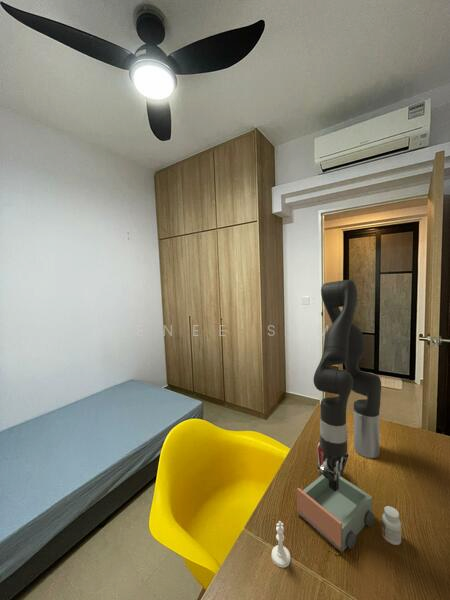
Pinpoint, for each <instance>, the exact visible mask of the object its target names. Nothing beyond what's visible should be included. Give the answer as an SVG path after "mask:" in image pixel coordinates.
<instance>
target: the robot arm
mask: <svg viewBox="0 0 450 600" xmlns="http://www.w3.org/2000/svg"><path fill="white" fill-rule="evenodd" d="M320 288H321V289H320V295H321V298H322V303H323V305H324V307H325V310H326V312H327V314H328V316H329V319H330V321H331V325H330V327H329V328H328V329H327V331H326V334H325V336H324V340H323V342H324V343H323V352H322V356H321V358H320V361H319V364H318V366H317V367H316V370H315V372H314V374H313V384H314V386H315V388H316V390H318V391H319V392H324V393H329V394H335V395H337V396H329V397H328V396H327V397H325V398H322V399H321V400H320V422H319V440H320V447H321V449H322V451H323V453H324V455H323V464H322V466H320V465H319V466H318V465H317V471H318V470H319V471H320V472H321V473H322V475H323V476H324V477H325V478H327V479H329V487H330V488H331V489H332V490H333V491H335V492H336V491H337V490H338V489H339V478H340V476H341V474H343V473H344V471H345V468H346V465H347V462H348V458H349V456H350V455H349V453H348V425H347V405H348V401H349V397H350V395H351V391H352V392H354V393H356V394H358V395H362V396H364V397H366V399H365V398H364V399H363V398H362V399H356V400H355V401H354V402H353V449H354V451H355V452H356V453H357V455H360V456H361V457H364V458H368V459H377V458H378V457H380V444H381V443H380V409H381V398H382V397H381V396H382V395H381V394H382V381H381V380H382V379H381V378H380V376H379V375H377V374H374V373H370V372H367V371H363V370H361V369H360V367H359V363H360V361H361V360H362V358H363V356H364V355H365V353H366V349H367V346H366V345H367V344H366V341H365V338H364V335H363V332H362V330H361V329H360V327H358V326H357V325H356V324H355V323H353V320H354V314H355V311H356V307H357V302H358V290H357V286H356V283H355V282H354V280H352V279H344V280H336V281H331V282H330V281H329V282H325V283H323V284H322V285H321V287H320ZM341 307H342V309H340V308H341ZM343 364H344V367H345V370H344V369H340V368H339V369H338V368H331V367H332V366H336V365H343ZM319 471H318V472H319Z"/></svg>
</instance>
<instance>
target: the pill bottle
mask: <svg viewBox="0 0 450 600" xmlns="http://www.w3.org/2000/svg"><path fill="white" fill-rule="evenodd" d="M381 527H382V528H381V530H382V531H381V532H382V536H383V538H384V540H385V541H386V542H388V543H389V544H391V545H393V546H399V545H401V543H402V522H401V520H400V513H399V511H398V510H397V509H396V508H394V507H392V506H389V505H387V506H385V507H384V508H383V513H382V516H381Z"/></svg>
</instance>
